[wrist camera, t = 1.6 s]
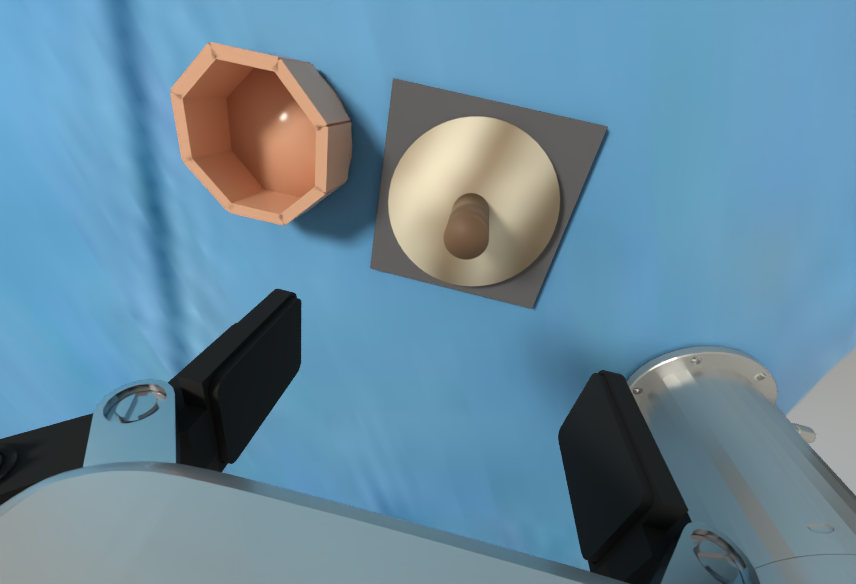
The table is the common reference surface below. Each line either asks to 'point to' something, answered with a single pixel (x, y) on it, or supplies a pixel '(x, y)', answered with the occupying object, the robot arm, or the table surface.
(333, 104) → the bowl
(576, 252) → the table surface
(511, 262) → the lid
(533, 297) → the mat
